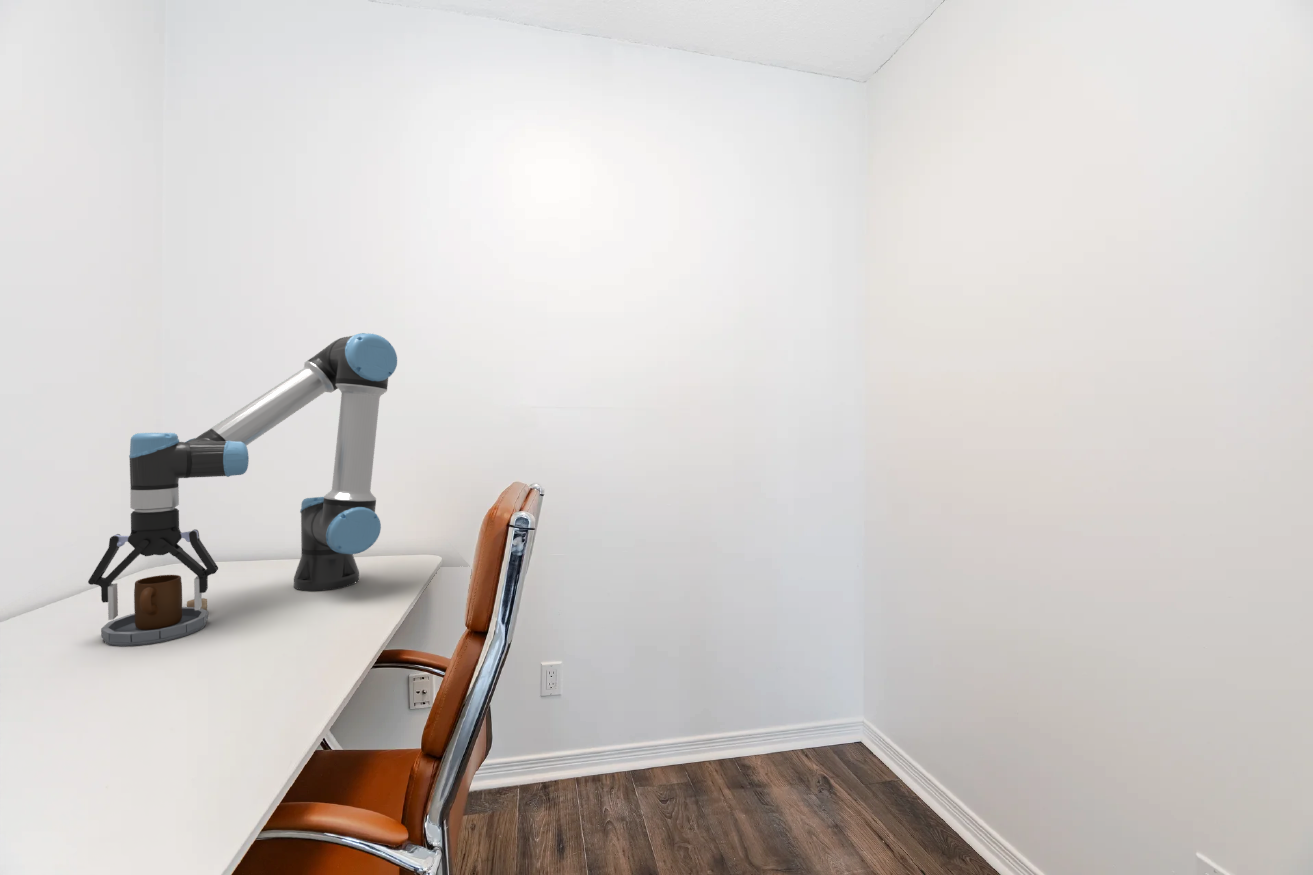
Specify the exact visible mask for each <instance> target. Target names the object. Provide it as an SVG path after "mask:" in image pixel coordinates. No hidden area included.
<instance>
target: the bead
mask: <svg viewBox="0 0 1313 875" xmlns="http://www.w3.org/2000/svg"><path fill="white" fill-rule="evenodd" d="M186 607H195V602H194V599H190V600H188V601H186ZM201 608H202V609H205V610H207V611H208V598H204V597H202V607H201Z"/></svg>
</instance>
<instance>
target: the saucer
mask: <svg viewBox="0 0 1313 875" xmlns="http://www.w3.org/2000/svg"><path fill="white" fill-rule="evenodd" d="M208 619H209V610H208V609H207V610H205V609H202V608H200V609H199V610H195V607H187V606H182V619H181V621H180V622H179V623H177V624H175V625H172V626H169V627H165V628H160V629H153V630H141V629H138V628H137V627H136V626H135V613H132V614H131V613H130V614H127V615H124V616H122V617H118V618H114V619H113V620H109V621H108V622H107V623H106V624H104V625H103V626H102V627H101V628H100V634H101V635H100V638H102V639H103V642H104V643H105V644H106V645H109V646H114V647H134V646H135V647H136V646H146V645H152V644H159V643H163V642H169V641H172V640H175V639H176V640H177V639H180V638H183V637H186V636H190V635H191V634H195V633H197V632H198V631H200V630H202V629H203V628H204V627H206V624H207V621H208Z"/></svg>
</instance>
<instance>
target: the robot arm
mask: <svg viewBox="0 0 1313 875" xmlns="http://www.w3.org/2000/svg"><path fill="white" fill-rule="evenodd" d="M303 365H304V366H303V368H302V369H300V370H299V371H297V372H296V373H294V374H292V375H291V376H289V377H288V378H286V379H284V381H281V383H279V384H277V385H275V386H274V387H273V388H270V389H269V390H268V391H266V392H264V393H263V394H261V395H260V396H258V397H257V398H255V399H253V400H252V401H251V402H249V403H248V404H246V405H245V406H243V407H241V408H240V409H238V410H237V411H235V412H234V413H232V414H230V415H229V416H227V417H226V418H224V419H223V420H221V421H220V422H219V423H217V424H215V425H213V426H212V427H211V428H209V429H208V430H206V431H204V432H203V433H201V434H200V435H199V436H197V437H194V438H191V439H188V440H186V441H180V439H179V436H178V434H177V433H175V432H140V433H139V432H138V433H137V432H136V433H135V434H133V435H132V436H131V438H130V445H129V446H130V447H129V455H128V457H129V479H130V480H129V481H130V483H129V484H130V493H129V494H130V495H129V496H130V509H132V510H133V511H131V513H130V534H129V535H121V534H119V533H117V534H114V535H112V536H111V537H109V542H108V548H107V549H106V551H105V553H104V555H103V556H102V558H100V561H99V562H98V564H97V566H96V567H95V569H94V571H93V572H92V574H91V576H90V577H89V579H88V582H87V583H88V585H91V586H92V585H95V586H99V587H100V590H101V591H100V592H101V593H100V594H101V595H100V596H101V602H102V603H103V604H104V603H107V608H108V609H107V610H108V611H107V614H108V618H107V619H108V621H113V620H115V619H117V617H118V616H119V605H118V604H119V602H118V600H119V599H118V596H119V595H118V593H119V591H118V583H117V582H116V583H113V582H114V581H115V580H116V579H117V578H118V577H119V576H120V575H121V574H122V573H123V571H125V570H126V569H127V567H128V566H130V565H131V563H133V561H135V560H136V559H137V558H138V557H139V556H140V555H142V556H144V557H150V556H151V557H152V556H154V555H156V556H165V555H167V554H170V555H171V556H172V557H175V558H176V559H177V560H179V562H181V563H182V564H183V565H184V566H185V567H187V568H188V569H189V570H190V571H191V572H192V573H194V574H195V575H196V577H195V578H194V579H193V584H194V585H193V587H194V594H193V595H194V597H193V598H194V602H195V610H199V609H200V608H201V607H202V598H203V596H202V595H203V593H207V591H208V588H209V586H208V585H209V583H208V582H209V580H208V579H209V577H208V576H211V575H214V574H216V573H217V571H218V570H219V567H218V565H217V563H216V562H215V560H214V559H213V557H212V556H211V554H210V552H209V551H208V549H207V548H206V547H205V545H204V544H203V542H202V540H201V537H200V532H199V530H198V529H192V530H190V531H184V532H181V529H180V510H179V509H178V508H176V507H178V506H179V505H180V493H179V492H180V491H179V488H180V486H179V479H189V478H210V477H211V478H214V477H226V478H229V477H232V476H234V477H235V476H241V475H244V474H246V473H247V471H248V468H249V459H250V458H249V456H250V455H249V451H248V447H247V446H248V445H249V444H251V443H252V442H254V441H256V440H257V439H258V438H260V437H261V436H262V435H264V434H266V433H267V432H268V431H270V430H271V429H273V428H274V427H276V426H278V425H279V424H280V423H281V422H283V421H285V420H286V419H288V418H289V417H291V416H293V415H294V414H295V413H297V412H298V411H300V410H301V409H302V408H304V407H306V406H307V405H308V404H310V403H311V402H313V401H314V400H317V398H318V397H320V396H321V395H323V394H324V393H333V392H334V391H336V390H337V389H338V390H339V391H340V392H341V397H340V406H339V417H338V425H337V437H336V446H335V453H334V454H335V455H334V456H335V457H334V465H333V466H334V467H333V472H332V473H333V476H332V483H331V485H332V486H331V489H330V491H329V492H327V493H326V494H325V495H323V496H318V497H317V496H316V497H307V498H306V497H305V498H304V499H303V500H302V502H301V504H300V505H301V509H300V511H299V513H300V518H301V519H300V523H301V524H300V528H301V531H300V532H301V534H300V535H301V536H300V537H301V542H300V543H301V545H300V546H301V553H300V554H301V555H300V559H299V562H298V565H297V568H296V571H295V573H294V576H293V588H294V589H296V590H299V591H311V592H312V591H315V592H316V591H328V590H336V589H340V588H341V589H343V588H346V587H349V586H352V585H354V584H356V583H358V582H359V581H358V580H360V571H359V568H358V565H357V562H356V560H355V557H354V555H357V554H360V553H363V552H365V551H367V550H369V549H370V548H371V547H372V546H374V544H375V543H376V542H377V540H378V538H379V537H380V534H381V529H382V526H381V520H380V517H379V516H378V514H377V513H376V505H377V504H376V503H377V498H376V497H375V495H374V494H373V493H372V492H371V488H372V478H373V477H372V476H373V469H374V458H375V457H374V455H375V447H376V437H377V429H378V416H379V407H380V398H381V397H382V395H384V394H386V393H387V392H388V386H389V385H388V384H389V378H390V377H391V376H392V375H393V374H394V373H395V371H396V369H397V366H398V355H397V352H396V350H395V348H394V346H393V345H392V343H391V342H389V340H388V339H386V338H385V337H383V336H381V335H379V334H375V333H369V332H367V333H365V332H361V333H357V334H354V335H349V336H344V337H340V338H337V339H336V340H334V341H332V342H331V343H330V344H329V345H327V346H326V347H325V348H323V349H322V350H321V351H319V352H318V353H316V354H315V355H314V356H312V357H310V358H309V359H307V361H305V362H304V364H303ZM182 539H185V540H184V541H186V542H188V543H190V545H191V547H192V548H193V551H195V553H196V555H197V556H198V558H199V559H200V562H202V564H203V565H204V566H203V565H202V564H200V563H199V561H197V560H196V559H195V558H193V557H192V556H191V555H190V554H188V553H187V552H186V550H184V549H183V548H182V547H181V546H180V545H179V544H178V543H179V542H180V541H181V540H182ZM126 542H128V544H130V545H131V547H133V548H134V549H133V550H132V551H131V552H129V554H128V555H127V556H126V557H125V558H124V559H123V560H122V561H120V563H119V564H117V566H116V567H115V568H114V569H113V570H112V571H111V572H110V573H109V574H107V576H106V577H103V576H104V574H105V573H106V571H107V569H108V567H109V566H110V564H111V562H112V561H113V559H114V557H115V556H116V554H117V553H118V552H119V549H120V548H121V547H123V546H124V545H125V544H126ZM355 582H356V583H355Z"/></svg>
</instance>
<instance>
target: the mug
mask: <svg viewBox="0 0 1313 875" xmlns="http://www.w3.org/2000/svg"><path fill="white" fill-rule="evenodd" d="M133 603H134V605H133V606H134V609H133V610H134V614H135V626H136V627H137V628H138V629H141V630H153V629H160V628H165V627H169V626H172V625H175V624H177V623H179V622H180V621H181V619H182V607H183V582H182V576H181V575H178V574H160V575H154V576H153V575H152V576H147V577H144V578H139V579H137V580H136V581H135V582H134V589H133Z"/></svg>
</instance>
